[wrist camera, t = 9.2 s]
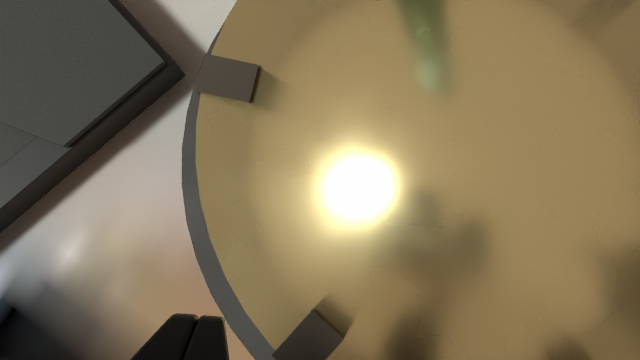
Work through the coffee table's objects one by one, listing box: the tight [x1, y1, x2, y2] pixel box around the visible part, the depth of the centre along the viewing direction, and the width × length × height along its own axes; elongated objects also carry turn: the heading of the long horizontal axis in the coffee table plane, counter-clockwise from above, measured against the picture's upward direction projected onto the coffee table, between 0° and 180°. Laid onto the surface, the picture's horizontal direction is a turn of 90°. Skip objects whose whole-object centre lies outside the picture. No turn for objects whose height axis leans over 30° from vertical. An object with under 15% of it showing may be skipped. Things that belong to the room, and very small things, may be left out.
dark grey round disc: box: [182, 22, 276, 360], centre depth 17 cm, size 17×18×3 cm
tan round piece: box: [195, 0, 640, 360], centre depth 11 cm, size 15×15×10 cm
